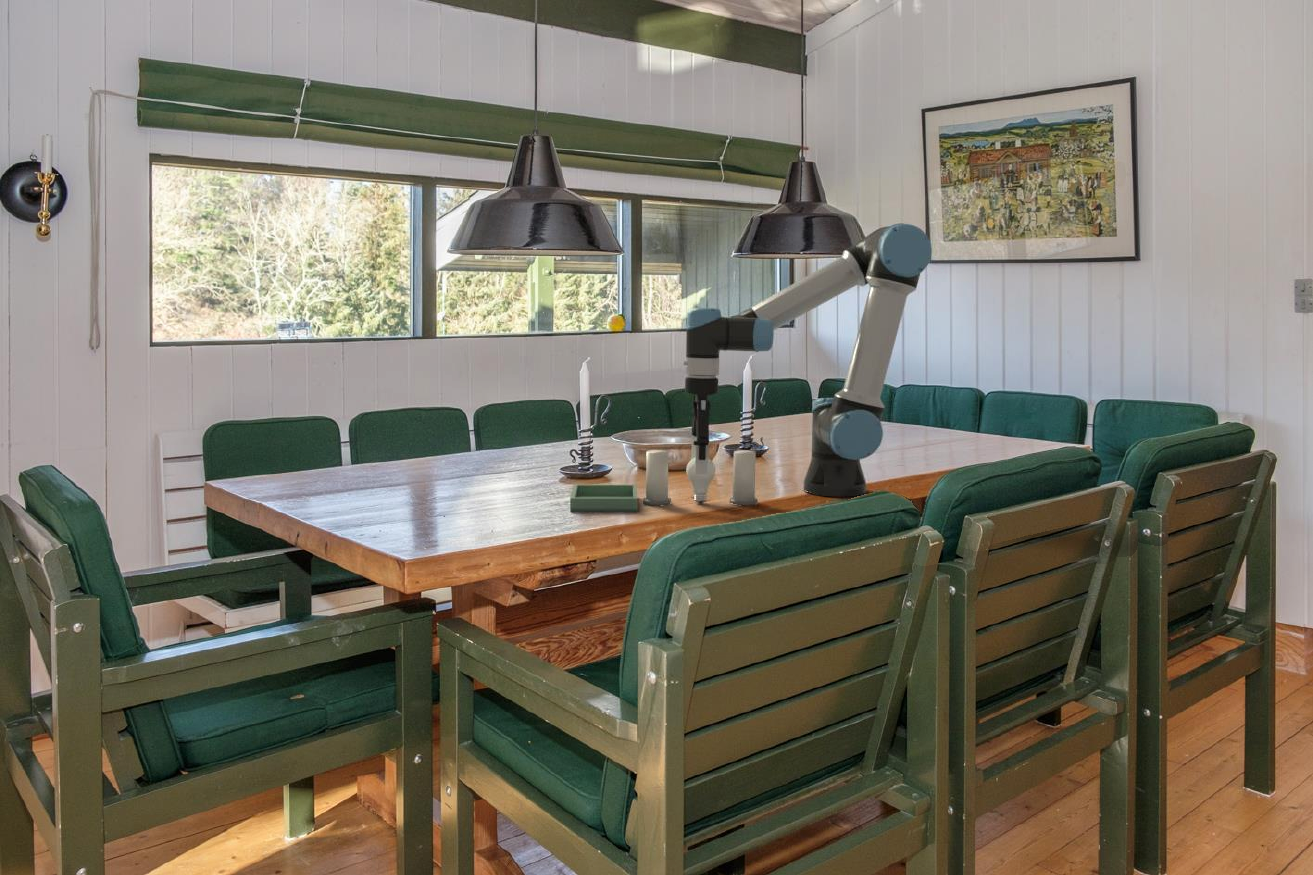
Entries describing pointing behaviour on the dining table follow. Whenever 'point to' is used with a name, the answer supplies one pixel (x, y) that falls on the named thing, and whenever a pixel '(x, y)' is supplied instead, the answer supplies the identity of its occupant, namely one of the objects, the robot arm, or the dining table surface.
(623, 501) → the tray
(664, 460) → the candle
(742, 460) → the candle
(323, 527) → the dining table surface
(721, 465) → the dining table surface
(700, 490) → the light bulb
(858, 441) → the robot arm
